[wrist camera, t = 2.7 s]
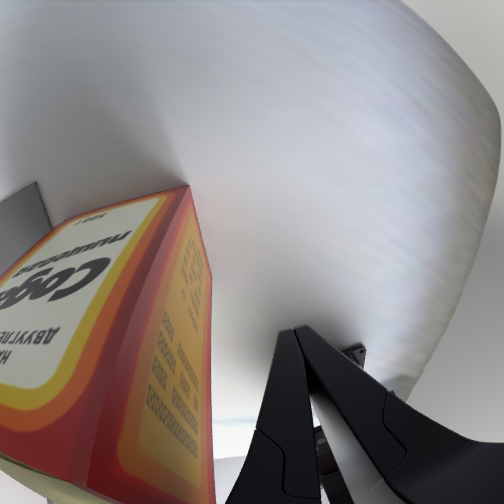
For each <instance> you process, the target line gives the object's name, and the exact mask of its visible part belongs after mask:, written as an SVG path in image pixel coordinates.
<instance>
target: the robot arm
mask: <svg viewBox="0 0 504 504" xmlns="http://www.w3.org/2000/svg"><path fill="white" fill-rule="evenodd" d="M365 355H366V348H365V346H364V345H361V346H358V347H355V348H352V349H349V350H346V351H343V352H340V351H339V350H338V349H336V348H335V347H334V346H333V345H331V344H330V343H329V342H328V341H327V340H325V339H324V338H323V337H322V336H320V335H319V334H318V333H317V332H316V331H314V330H313V329H312V328H311V327H309V326H308V325H306V324H305V325H301V326H297V327H294V329H292V328H289V329H285V330H281V331H279V333H278V337H277V341H276V346H275V350H274V355H273V359H272V363H271V367H270V372H269V376H268V380H267V384H266V388H265V392H264V396H263V400H262V404H261V408H260V412H259V416H258V420H257V424H256V430H254V434H253V438H252V441H251V444H250V448H249V451H248V454H247V457H246V460H245V462H244V465H243V467H242V469H241V472H240V474H239V476H238V478H237V480H236V482H235V485H234V487H233V489H232V491H231V492H230V494H229V496H228V499H227V500H226V502H225V504H322V502H321V490H320V489H323V488H324V490H325V493H326V495H327V497H328V500H329V502H330V504H504V443H491V442H479V441H475V440H471V439H468V438H466V437H464V436H461V435H459V434H458V433H456V432H454V431H452V430H450V429H448V428H446V427H444V426H443V425H441V424H439V423H437V422H435V421H433V420H432V419H430V418H428V417H427V416H425V415H423V414H422V413H420V412H418V411H417V410H415V409H413V408H412V407H411V406H409V405H408V404H406V403H405V402H404V401H402V400H401V399H399V398H398V397H397V396H396V395H395V393H394V392H393V390H392V391H387V389H386V388H385V387H384V386H383V385H381V384H380V383H379V382H378V381H376V380H375V379H374V378H373V377H371V376H370V375H369V374H367V373H366V372H365V371H364V370H363V368H364V362H365ZM310 400H311V401H310ZM311 403H312V405H313V407H314V410H315V412H316V415H317V417H318V419H319V422H320V424H321V425H320V426H317V427H314V425H313V417H312V409H311Z"/></svg>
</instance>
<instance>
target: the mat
mask: <svg viewBox="0 0 504 504" xmlns="http://www.w3.org/2000/svg"><path fill="white" fill-rule="evenodd" d="M52 229H53V228H52V226H51V223H50V221H49V218H48V216H47V213H46V210H45V207H44V205H43V202H42V199H41V196H40V193H39V190H38V187H37V184H36V182H34V183H32V184H31V185H29V186H27V187H26V188H24V189H22V190H21V191H19V192H18V193H16V194H14V195H13V196H11V197H10V198H8V199H7V200H5V201H4V202H2V203H1V204H0V276H1V275H2V274H3V273H4V272H5V271H6V270H7V269H8V268H9V267H10V266H11V265H12V264H13V263H14V262H15V261H16V260H17V259H19V258H20V257H21V256H22V255H23V254H24V253H25V252H26V251H27V250H29V249H30V248H31V247H32V246H33V245H34V244H36V243H37V242H38V241H39V240H40V239H41V238H43V237H44V236H45V235H46V234H48V233H49V232H50V231H51V230H52Z"/></svg>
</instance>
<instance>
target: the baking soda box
mask: <svg viewBox="0 0 504 504" xmlns="http://www.w3.org/2000/svg"><path fill="white" fill-rule="evenodd" d="M211 307H212V274H211V270H210V267H209V263H208V259H207V255H206V251H205V247H204V243H203V240H202V236H201V231H200V227H199V223H198V219H197V215H196V211H195V207H194V202H193V198H192V194H191V189H190V185H188V186H184V187H179V188H175V189H171V190H167V191H163V192H158V193H154V194H151V195H147V196H143V197H139V198H135V199H132V200H128V201H124V202H121V203H117V204H114V205H110V206H107V207H104V208H100V209H97V210H94V211H91V212H87V213H84V214H81V215H78V216H75V217H72V218H69V219H66V220H64V221H63V222H61V223H60V224H59V225H58V226H56V227H55V228H54V229H52V230H51V231H50V232H49V233H48V234H46V235H45V236H44V237H43V238H41V239H40V240H39V241H38V242H37V243H36V244H34V245H33V246H32V247H31V248H30V249H29V250H27V251H26V252H25V253H24V254H23V255H22V256H21V257H20V258H19V259H17V260H16V261H15V262H14V263H13V264H12V265H11V266H10V267H9V268H8V269H7V270H6V271H5V272H4V273H3V274H2V275H1V276H0V470H2V471H3V472H5V473H6V474H7V475H9V476H10V477H12V478H13V479H15V480H16V481H18V482H20V483H21V484H23V485H24V486H26V487H28V488H29V489H31V490H33V491H34V492H36V493H38V494H40V495H41V496H43V497H45V498H47V499H49V500H51V501H53V502H55V503H57V504H216V495H215V481H214V463H213V439H212V406H211Z"/></svg>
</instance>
